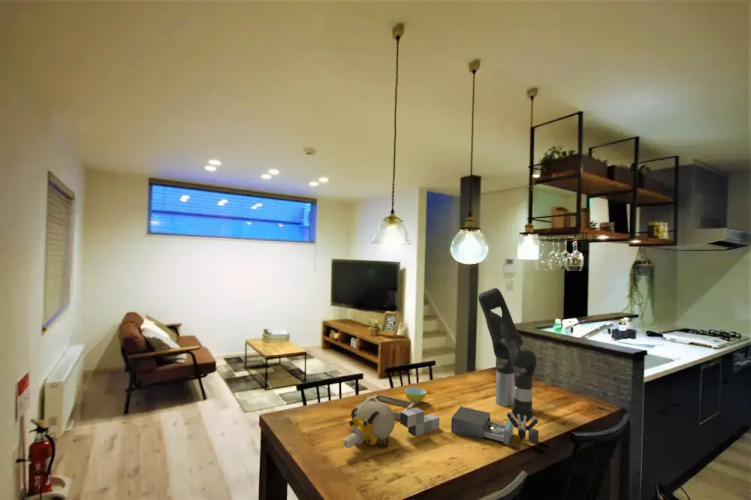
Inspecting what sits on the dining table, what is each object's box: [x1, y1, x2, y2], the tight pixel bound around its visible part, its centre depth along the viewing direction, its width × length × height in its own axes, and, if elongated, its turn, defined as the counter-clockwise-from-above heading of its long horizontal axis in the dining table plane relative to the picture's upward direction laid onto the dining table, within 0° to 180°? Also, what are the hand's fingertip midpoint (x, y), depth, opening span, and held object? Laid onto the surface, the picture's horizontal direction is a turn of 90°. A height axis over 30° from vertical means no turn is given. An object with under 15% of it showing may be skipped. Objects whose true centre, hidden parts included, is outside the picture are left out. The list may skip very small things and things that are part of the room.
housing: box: [450, 406, 491, 441], centre depth 168 cm, size 15×14×6 cm
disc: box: [488, 424, 502, 434], centre depth 163 cm, size 6×6×2 cm
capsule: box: [527, 427, 540, 444], centre depth 159 cm, size 4×4×4 cm
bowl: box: [404, 386, 427, 405], centre depth 198 cm, size 11×12×6 cm
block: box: [399, 406, 440, 437], centre depth 165 cm, size 20×5×10 cm, turn 126°
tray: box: [483, 418, 514, 446], centre depth 163 cm, size 12×15×6 cm
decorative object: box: [341, 395, 396, 449], centre depth 153 cm, size 15×23×30 cm
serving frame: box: [373, 393, 416, 421], centre depth 188 cm, size 17×22×3 cm
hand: (521, 438), depth 157 cm, fingers closed
